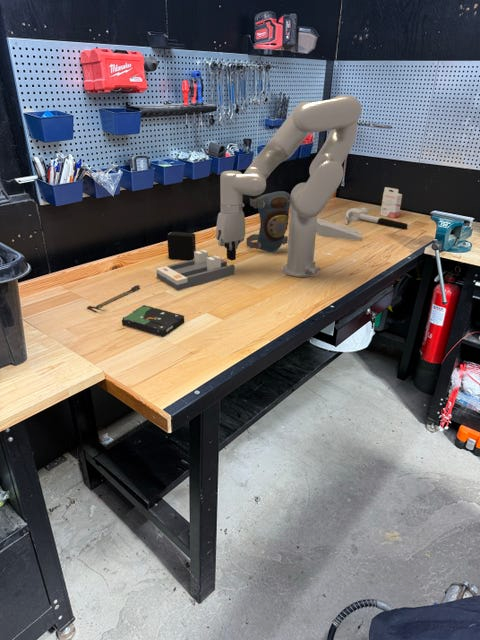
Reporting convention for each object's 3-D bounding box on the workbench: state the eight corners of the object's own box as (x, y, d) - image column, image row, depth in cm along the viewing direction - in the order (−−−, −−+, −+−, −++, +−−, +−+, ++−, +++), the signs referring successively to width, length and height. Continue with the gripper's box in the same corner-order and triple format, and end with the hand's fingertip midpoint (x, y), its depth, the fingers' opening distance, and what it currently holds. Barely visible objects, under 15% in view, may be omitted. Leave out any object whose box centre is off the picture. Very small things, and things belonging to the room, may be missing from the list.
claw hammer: (415, 217, 223) (360, 205, 240) (396, 227, 208) (338, 213, 225) (412, 228, 226) (358, 215, 243) (394, 238, 211) (337, 224, 228)
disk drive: (185, 323, 132) (144, 312, 138) (184, 315, 130) (143, 304, 136) (164, 339, 124) (121, 326, 129) (163, 330, 122) (120, 317, 128)
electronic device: (193, 261, 177) (192, 236, 172) (168, 259, 178) (166, 234, 174) (196, 257, 180) (195, 233, 176) (172, 255, 182) (170, 231, 177)
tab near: (221, 270, 162) (220, 256, 159) (211, 273, 160) (211, 258, 157) (216, 268, 164) (215, 254, 162) (207, 270, 162) (206, 256, 159)
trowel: (371, 238, 207) (373, 226, 205) (352, 245, 197) (353, 233, 195) (321, 225, 225) (322, 214, 222) (301, 231, 215) (302, 220, 212)
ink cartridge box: (399, 216, 240) (403, 188, 233) (394, 218, 237) (398, 189, 230) (384, 213, 246) (389, 185, 239) (379, 215, 242) (383, 187, 236)
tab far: (208, 264, 167) (207, 250, 165) (199, 266, 165) (198, 252, 163) (203, 262, 170) (203, 248, 167) (194, 264, 167) (194, 250, 165)
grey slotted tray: (234, 274, 165) (234, 265, 163) (177, 290, 151) (177, 280, 150) (212, 263, 174) (212, 254, 173) (156, 277, 161) (156, 268, 159)
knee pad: (258, 258, 180) (260, 194, 168) (238, 244, 196) (238, 184, 184) (298, 252, 186) (302, 190, 175) (275, 239, 202) (278, 181, 191)
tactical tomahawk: (100, 317, 136) (100, 314, 135) (86, 310, 139) (85, 307, 138) (151, 293, 151) (151, 290, 150) (137, 287, 154) (136, 284, 153)
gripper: (241, 203, 163) (241, 252, 172) (207, 209, 155) (208, 260, 163) (255, 207, 158) (253, 257, 167) (220, 214, 150) (220, 266, 158)
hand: (231, 259), depth 165 cm, fingers closed
